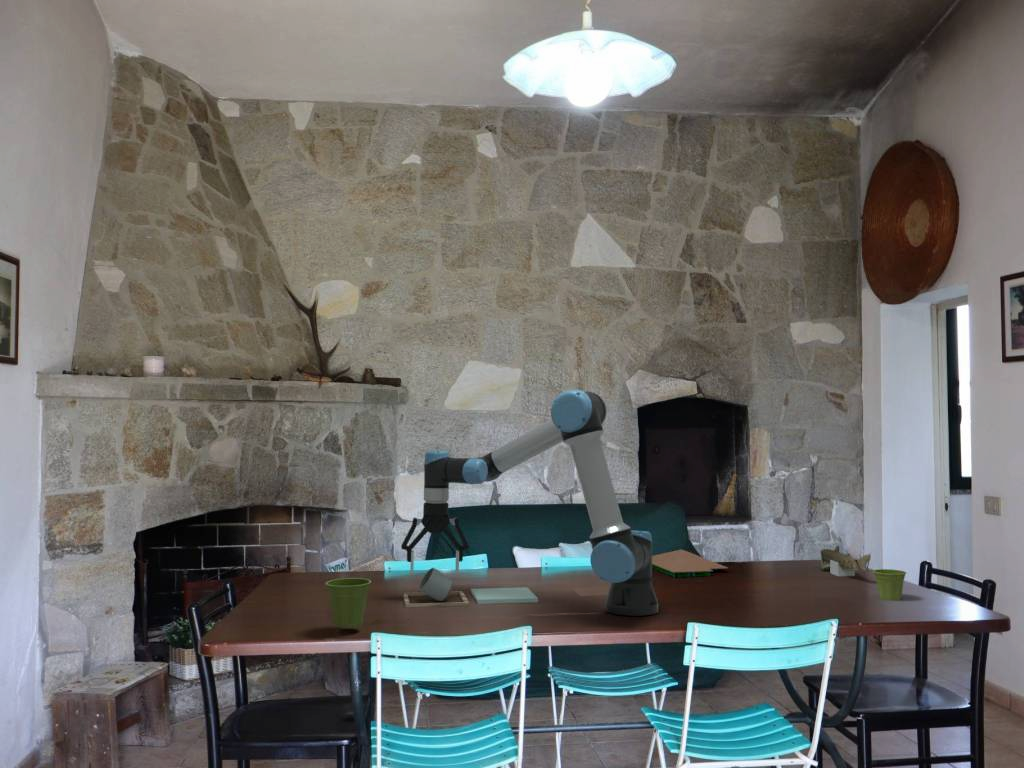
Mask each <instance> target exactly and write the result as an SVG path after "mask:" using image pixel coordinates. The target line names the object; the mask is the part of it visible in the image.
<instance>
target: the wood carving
mask: <svg viewBox="0 0 1024 768" xmlns="http://www.w3.org/2000/svg"><path fill="white" fill-rule="evenodd" d="M820 555H821V556H820V558H821V559H820V560H821V561H820V562H821V566H820V569H822V570H823V569H825V568H829V570H830V573H829V574H832V575H834V576H837V577H855V576H856V572H858V573H862V574H864V575H865V574H866V575H867V574H869V564H870V562H871V561H870V560H871V557H872V556H871V553H868V554H864V555H863V556H861V557H860V558H858V559H857V558H854V557H852V556H851V553H847V554H845V553H841V552H840V545H836V546H835V549H828V548H827V549H826V548H824V549H821V550H820Z"/></svg>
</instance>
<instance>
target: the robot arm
mask: <svg viewBox="0 0 1024 768" xmlns="http://www.w3.org/2000/svg"><path fill="white" fill-rule="evenodd" d="M550 417H551V419H549V420H547V421H546V422H544V423H542V424H540V425H538V426H535V427H534V428H533V429H530V430H529V431H527V432H525V433H523V434H522V435H520V436H517V437H516V438H514V439H513V440H510V441H508V442H507V443H505V444H503V445H501V446H499V447H498V448H496V449H494V450H492V451H491V452H489V453H487V454H485V455H483V456H480V457H463V458H462V457H451V456H450V452H449V450H427V451H426V452H425V454H424V464H423V468H424V471H423V473H424V474H423V478H424V480H423V481H424V482H423V483H424V484H423V501H425V502H424V503H423V508H422V509H423V512H422V513H423V514H422V518H417V517H413V518H412V523H411V526H410V528H409V530H408V532H407V534H406V536H405V537H404V540H403V541H402V543H401V544H400V545H401V546H400V548H401V550H405V551H406V561H407V562H408V563H410V571H409V572H410V574H411V575H412V574H414V566H415V564H414V560H415V557H414V555H415V554H414V553H415V551H414V550H413V549H414V548H415V547H416V546H417V545H418V543H419V542H420V541H421V540H422V538H424V536H426V534H428V533H430V534H435V533H436V534H442V533H443V532H444V534H445V535H446V536H447V537H448V539H449V540H450V541H451V542H452V543H453V545H454V546H455V547H456V548H457V549H456V550H455V570H454V571H455V573H456V574H460V563H461V562H463V560H464V559H463V558H464V557H463V556H464V550H468V549H470V546H469V544H468V542H467V539H466V538H465V534H464V533H463V531H462V529H461V527H460V522H459V520H460V519H458V517H454V518H449V503H448V501H449V495H450V492H449V491H450V490H449V489H450V484H453V483H454V484H465V485H466V484H467V485H468V484H469V485H482V484H483V483H485V482H488V483H489V482H492V481H495V480H497V479H498V478H500V476H501V475H502V474H505V472H508V471H509V470H511V469H514V467H517V466H518V465H519V466H520V465H521V464H522V463H525V462H526V461H529V460H530V459H532V458H535V457H536V456H538V455H540V454H542V453H544V452H545V451H547V450H549V449H551V448H554V447H556V446H558V445H559V444H561V443H564V444H565V445H567V446H569V448H570V450H571V454H572V458H573V461H574V465H575V469H576V472H577V476H578V480H579V484H580V487H581V490H582V495H583V498H584V502H585V506H586V508H587V509H586V510H587V512H588V517H589V520H590V523H591V527H592V532H591V534H590V536H589V541H590V545H591V548H592V549H591V550H592V551H591V553H590V559H589V560H590V565H591V569H592V571H593V573H594V574H595V575H596V576H597V577H598V578H599V579H601V580H602V581H604V582H607V583H609V584H610V586H609V590H608V592H607V596H606V599H605V602H604V605H605V608H604V610H605V611H606V612H608V613H611V614H613V615H614V614H615V615H620V616H629V617H630V616H632V617H633V616H635V617H637V616H639V617H640V616H651V615H655V614H657V613H659V602H658V599H657V597H656V596H657V595H656V593H655V590H654V586H653V564H652V556H653V538H652V534H651V532H649V531H648V530H647V531H645V530H632V529H631V526H629V525H628V524H626V523H625V522H624V520H623V517H622V513H621V508H620V507H619V503H618V498H617V495H616V492H615V488H614V483H613V481H612V478H611V474H610V469H609V467H608V463H607V459H606V456H605V452H604V448H603V446H602V441H601V437H602V436H603V434H604V429H603V423H604V422H605V421H606V417H607V406H606V403H605V401H604V399H603V398H602V397H601V396H600V395H598V394H597V393H595V392H592V391H585V390H584V391H583V390H580V389H570V390H565V391H563V392H562V393H560V394H558V395H557V396H556V397H555V399H554V400H553V402H552V404H551V408H550ZM450 523H451V525H452V526H454V528H455V529H456V532H457V534H458V537H459V538H460V540H461V542H462V545H461V544H460V543H459V542H458V540H457V539H456V538H455V536H453V534H452V533H451V531H450V530H449V529H448V528H447V527H448V526H449V524H450ZM421 524H422V525H423V528H422V530H421V531H420V532H419V533H418V534H417V535H416V537H415V538H414V539H413V540H412V541H411V543H409V542H410V540H411V538H412V535H413V534H414V533H415V530H416V528H417V527H418V526H419V525H421ZM408 544H409V545H408Z"/></svg>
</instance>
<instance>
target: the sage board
mask: <svg viewBox="0 0 1024 768" xmlns="http://www.w3.org/2000/svg"><path fill="white" fill-rule="evenodd" d="M470 594H471V596H472V597H473V598H474V600H475V602H476V604H477V605H481V604H484V605H486V604H487V605H488V604H519V603H520V604H521V603H523V604H524V603H538V602H539V599H538V597H537V595H535V594H534V593H533V591H532V590H530V588H529V587H527V586H526V587H524V586H523V587H494V588H492V587H491V588H490V587H488V588H487V587H486V588H470Z"/></svg>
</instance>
